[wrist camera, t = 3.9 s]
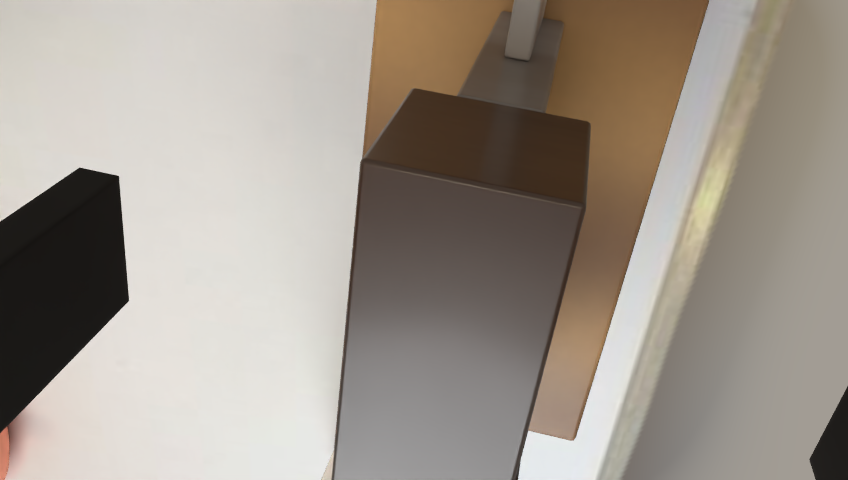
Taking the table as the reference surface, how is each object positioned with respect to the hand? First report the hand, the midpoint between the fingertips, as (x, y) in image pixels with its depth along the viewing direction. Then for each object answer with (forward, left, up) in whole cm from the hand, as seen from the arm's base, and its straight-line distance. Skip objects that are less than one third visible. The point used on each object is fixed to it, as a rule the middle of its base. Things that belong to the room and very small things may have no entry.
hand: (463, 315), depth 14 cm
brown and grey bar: (+3, -6, -3) cm, 7 cm away
